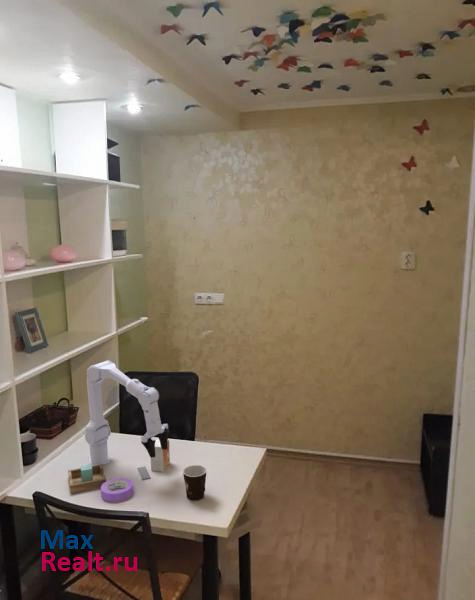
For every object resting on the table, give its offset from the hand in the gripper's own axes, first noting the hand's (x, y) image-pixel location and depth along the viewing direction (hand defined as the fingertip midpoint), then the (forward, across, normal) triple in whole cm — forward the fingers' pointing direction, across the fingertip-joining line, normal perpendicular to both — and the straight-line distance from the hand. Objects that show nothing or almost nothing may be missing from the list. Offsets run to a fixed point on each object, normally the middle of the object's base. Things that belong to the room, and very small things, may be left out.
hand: (158, 453), depth 188 cm
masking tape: (+10, -17, +9) cm, 21 cm away
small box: (+10, +8, +7) cm, 14 cm away
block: (+6, -16, +25) cm, 30 cm away
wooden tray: (+6, -16, +25) cm, 30 cm away
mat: (+9, -2, +12) cm, 15 cm away
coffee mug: (+14, -6, -19) cm, 24 cm away
